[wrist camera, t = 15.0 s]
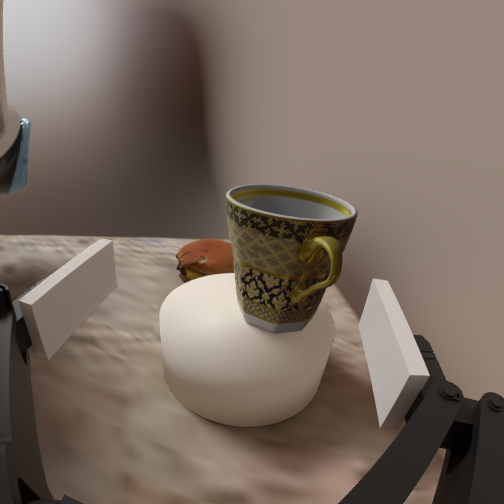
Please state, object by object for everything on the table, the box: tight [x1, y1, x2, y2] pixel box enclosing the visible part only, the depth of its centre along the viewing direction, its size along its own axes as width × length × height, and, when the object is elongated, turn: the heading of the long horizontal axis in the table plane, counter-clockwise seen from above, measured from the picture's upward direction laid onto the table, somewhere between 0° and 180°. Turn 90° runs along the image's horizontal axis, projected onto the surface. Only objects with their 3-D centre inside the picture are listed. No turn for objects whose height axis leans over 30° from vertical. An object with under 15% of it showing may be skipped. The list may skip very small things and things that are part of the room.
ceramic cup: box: [226, 184, 357, 333], centre depth 25 cm, size 13×10×10 cm
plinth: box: [159, 273, 335, 427], centre depth 29 cm, size 15×15×6 cm
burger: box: [176, 239, 234, 283], centre depth 45 cm, size 10×9×5 cm
